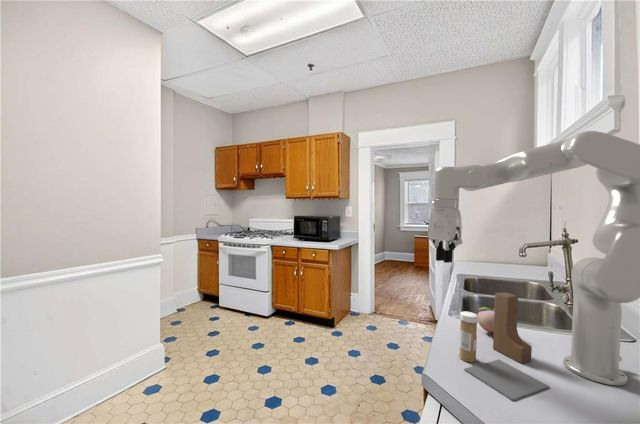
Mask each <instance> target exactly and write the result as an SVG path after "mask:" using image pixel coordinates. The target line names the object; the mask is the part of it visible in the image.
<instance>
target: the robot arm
mask: <svg viewBox="0 0 640 424" xmlns="http://www.w3.org/2000/svg"><path fill="white" fill-rule="evenodd" d="M587 165H589V166H591V167H594V168H596V172H595V174H596V177H597V180H598V181H599V182H600V183H601V185H603V187H604V188H605V190H606V192H607V193H608V198H609V199H608V204H607V207H606V209H605V212H604V214H603V216H602V218H601V220H600V222H599V223H598V226H597V227H596V230H595V231H594V233H593V237H592V244H593V246H594V248H595V249H596V250H597V251H599V253H602V254H604V255H605V257H604V258H600V257H591V256H590V257H585V258H581V259H580V260H578V261H576V262H575V264H574V265H573V266H572V269H571V276H570V278H571V285H572V286H571V287H572V295H573V297H572V298H573V299H572V300H573V302H572V303H573V304H572V305H573V306H572V307H573V308H572V319H571V320H572V323H571V346H570V355H567V356H565V357H564V358H563V364H564V366H565V367H566V368H567V369H568V370H569V371H571V372H573V373H574V374H576V375H578V376H581V377H582V378H585V379H588V380H590V381H593V382H596V383H600V384H603V385H604V384H605V385H608V386H618V387H619V386H624V385H626V384H628V377H627V375H626V374H625V372H623V371H621V370H620V362H622V361H623V357H622V356H621V355H620V351H621V336H622V335H621V334H622V333H621V332H622V331H621V330H622V321H623V320H622V319H623V318H622V317H623V316H622V315H623V313H622V304H628V303H633V302H635V301H637V300H639V299H640V143H637V142H633V141H630V140H627V139H624V138H621V137H619V136H615V135H612V134H609V133H606V132H603V131H597V130H585V131H582V132H579V133H578V134H576V135H574V136H571V137H570V138H568V139H564V140H559V141H557V142H552V143H549V144H548V143H547V144H544V145H541V146H537V147H533V148H529V149H525V150H522V151H519V152H516V153H514V154H512V155H509V156H508V157H506V158H503V159H500V160H498V161H495V162H492V163H489V164H485V165H480V164H469V165H463V166H441V167H437V168H436V169H435V171H434V179H433V182H434V186H433V187H434V188H433V201H432V207H433V209H430V210H431V211H430V214H429V219H428V220H429V221H428V230H427V236H428V239H429V241H431V242H432V244H433V246H434V248H435V261H437V262H438V261H439V262H440V261H441V262H442V261H443V263H444V264H445V263H447V264H449V263H453V258H454V257H453V256H454V253H453V252H454V250H455V249H456V248H457V247H458V246H461V245H462V244H463V240H462V235H463V234H462V233H463V231H462V229H463V227H462V225H463V224H462V214H461V209H460V208H459V205H460V200H459V199H460V189H461V188H462V189H463V190H465V191H467V192H473V191H479V190H484V189H487V188H491V187H496V186H499V185H504V184H507V183H514V182H522V181H526V180H529V179H533V178H538V177H542V176H546V175H551V174H552V175H553V174H556V173H560V172H563V171H567V170H573V169H577V168H580V167H583V166H587ZM444 243H445V246H444ZM444 247H445V248H444Z"/></svg>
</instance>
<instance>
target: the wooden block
mask: <svg viewBox="0 0 640 424" xmlns="http://www.w3.org/2000/svg"><path fill="white" fill-rule="evenodd" d="M518 305H519V296H518V295H516V294H512V293H508V292H505V291H504V292H495V294H494V309H495V311H494V333H493V338H492V339H493V340H492V341H493V342H492V343H493V344H492V349H493V350H495V351H496V352H499V353H500V354H502V355H504V356H505V357H508V358H510V359H512V360H514V361H516V362H517V363H519V364H525V363H528V362H531V361H532V353H533V352H532V346H531V344H530V345H529V344H528V343H527V342H526V341H523V340H522V338H521V336H520V335H519V333H518Z"/></svg>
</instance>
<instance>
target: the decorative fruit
mask: <svg viewBox="0 0 640 424" xmlns="http://www.w3.org/2000/svg"><path fill="white" fill-rule="evenodd" d="M477 311H478V313H477V314H476V315H477V316H478V322H477V324H479V326H480V327H481V328H482V329H483V330H484V331H486V332H487V333H490V334H491V335H494V311H495V308H494V305H492V306H491V308H490V307H485V306H483V307H480V308H478V309H477Z"/></svg>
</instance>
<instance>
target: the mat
mask: <svg viewBox="0 0 640 424" xmlns="http://www.w3.org/2000/svg"><path fill="white" fill-rule="evenodd" d="M463 371H465V372H466V373H468V374H470V375H471V376H473V377H474V378H476V379H477V380H479V381H480V380H481V381H480V382H482V383H483V382H484V383H483V384H485V385H487V386H488V385H489V386H488V387H490V388H491V387H492V388H491V389H493V390H494V389H495V390H494V391H496V392H497V393H499V394H501V395H502V394H503V395H502V396H504V397H505V396H506V398H507V399H508V398H509V400H510V401H512V402H514V401H516V399H517V400H519V399H518V398H520V399H522V398H525V397H528V396H530V395H533V394H537V393H538V392H541V391H545V390H547V389H550V386H549V385H548V384H546V383H545V382H542V381H540V380H538V379H537V378H535V377H533V376H531V375H530V374H527V373H526V372H523V371H521V370H520V369H518V368H516V367H515V366H512V365H510V364H509V363H506V362H504V361H502V360H501V359H495V360H491V361H488V362H485V363H480V364H478V365H477V364H476V365H473V366H469V367H466V368H464V369H463ZM524 396H525V397H524ZM521 397H522V398H521ZM513 400H514V401H513Z"/></svg>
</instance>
